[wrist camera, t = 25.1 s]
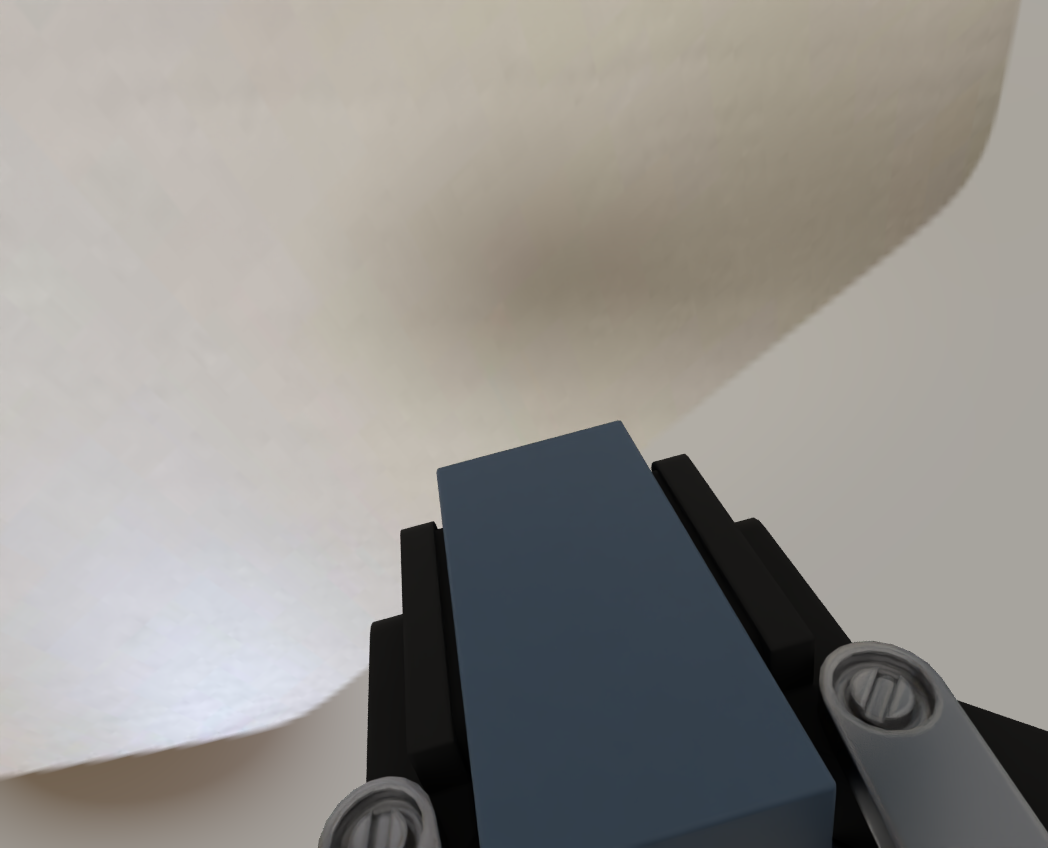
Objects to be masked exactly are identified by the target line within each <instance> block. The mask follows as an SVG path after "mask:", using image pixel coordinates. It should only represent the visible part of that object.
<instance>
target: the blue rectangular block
mask: <svg viewBox="0 0 1048 848" xmlns="http://www.w3.org/2000/svg"><path fill="white" fill-rule="evenodd" d="M437 481H438V490H439V498H440V507H441V516H442V524H443V533H444V542H445V550H446V559H447V568H448V576H449V585H450V593H451V602H452V611H453V619H454V628H455V637H456V645H457V654H458V663H459V671H460V680H461V689H462V697H463V706H464V714H465V723H466V732H467V740H468V749H469V758H470V766H471V775H472V784H473V792H474V801H475V809H476V818H477V827H478V835H479V844H480V848H832V836H833V824H834V812H835V800H836V782H835V781H834V779H833V777H832V776H831V774H830V772H829V770H828V769H827V767H826V765H825V764H824V762H823V760H822V759H821V757H820V755H819V754H818V752H817V750H816V749H815V747H814V745H813V743H812V742H811V740H810V738H809V737H808V735H807V733H806V732H805V730H804V728H803V727H802V725H801V723H800V722H799V720H798V718H797V717H796V715H795V713H794V711H793V710H792V708H791V706H790V705H789V703H788V701H787V700H786V698H785V696H784V695H783V693H782V691H781V690H780V688H779V686H778V684H777V683H776V681H775V679H774V678H773V676H772V674H771V673H770V671H769V669H768V668H767V666H766V664H765V663H764V661H763V659H762V658H761V656H760V654H759V652H758V651H757V649H756V647H755V646H754V644H753V642H752V641H751V639H750V637H749V636H748V634H747V632H746V631H745V629H744V627H743V626H742V624H741V622H740V620H739V619H738V617H737V615H736V614H735V612H734V610H733V609H732V607H731V605H730V604H729V602H728V600H727V599H726V597H725V595H724V593H723V592H722V590H721V588H720V587H719V585H718V583H717V582H716V580H715V578H714V577H713V575H712V573H711V572H710V570H709V568H708V567H707V565H706V563H705V561H704V560H703V558H702V556H701V555H700V553H699V551H698V550H697V548H696V546H695V545H694V543H693V541H692V540H691V538H690V536H689V535H688V533H687V531H686V529H685V528H684V526H683V524H682V523H681V521H680V519H679V518H678V516H677V514H676V513H675V511H674V509H673V508H672V506H671V504H670V502H669V501H668V499H667V497H666V496H665V494H664V492H663V491H662V489H661V487H660V486H659V484H658V482H657V481H656V479H655V477H654V476H653V474H652V472H651V470H650V469H649V467H648V465H647V464H646V462H645V460H644V459H643V457H642V455H641V454H640V452H639V450H638V449H637V447H636V445H635V443H634V442H633V440H632V438H631V437H630V435H629V433H628V432H627V430H626V428H625V427H624V425H623V423H622V422H621V421H614V422H610V423H607V424H603V425H599V426H595V427H592V428H588V429H584V430H580V431H577V432H573V433H569V434H565V435H562V436H558V437H554V438H550V439H547V440H543V441H539V442H535V443H532V444H528V445H524V446H520V447H517V448H513V449H509V450H505V451H502V452H498V453H494V454H490V455H487V456H483V457H479V458H475V459H472V460H468V461H464V462H460V463H457V464H453V465H449V466H445V467H442V468H439V469H437Z"/></svg>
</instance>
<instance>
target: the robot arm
mask: <svg viewBox="0 0 1048 848" xmlns="http://www.w3.org/2000/svg"><path fill="white" fill-rule="evenodd" d="M651 470H652V474H653V476H654V477H655V479H656V481H657V482H658V484H659V486H660V487H661V489H662V491H663V492H664V494H665V496H666V497H667V499H668V501H669V502H670V504H671V506H672V508H673V509H674V511H675V513H676V514H677V516H678V518H679V519H680V521H681V523H682V524H683V526H684V528H685V529H686V531H687V533H688V535H689V536H690V538H691V540H692V541H693V543H694V545H695V546H696V548H697V550H698V551H699V553H700V555H701V556H702V558H703V560H704V561H705V563H706V565H707V567H708V568H709V570H710V572H711V573H712V575H713V577H714V578H715V580H716V582H717V583H718V585H719V587H720V588H721V590H722V592H723V593H724V595H725V597H726V599H727V600H728V602H729V604H730V605H731V607H732V609H733V610H734V612H735V614H736V615H737V617H738V619H739V620H740V622H741V624H742V626H743V627H744V629H745V631H746V632H747V634H748V636H749V637H750V639H751V641H752V642H753V644H754V646H755V647H756V649H757V651H758V652H759V654H760V656H761V658H762V659H763V661H764V663H765V664H766V666H767V668H768V669H769V671H770V673H771V674H772V676H773V678H774V679H775V681H776V683H777V684H778V686H779V688H780V690H781V691H782V693H783V695H784V696H785V698H786V700H787V701H788V703H789V705H790V706H791V708H792V710H793V711H794V713H795V715H796V717H797V718H798V720H799V722H800V723H801V725H802V727H803V728H804V730H805V732H806V733H807V735H808V737H809V738H810V740H811V742H812V743H813V745H814V747H815V749H816V750H817V752H818V754H819V755H820V757H821V759H822V760H823V762H824V764H825V765H826V767H827V769H828V770H829V772H830V774H831V776H832V777H833V779H834V781H835V782H836V800H835V812H834V824H833V836H832V848H1048V731H1045V730H1042V729H1039V728H1037V727H1034V726H1031V725H1028V724H1025V723H1022V722H1019V721H1016V720H1013V719H1010V718H1007V717H1004V716H1001V715H999V714H995V713H993V712H990V711H987V710H984V709H981V708H978V707H975V706H972V705H970V704H967V703H964V702H961V701H958V700H956V698H955V697H954V695H953V694H952V692H951V691H950V689H949V688H948V687H947V685H946V684H945V682H944V681H943V679H942V678H941V677H940V676H939V675H938V673H937V672H936V671H935V670H934V669H933V668H932V667H931V666H930V665H929V664H928V663H927V662H925V661H924V660H922V659H921V658H919V657H918V656H916V655H915V654H914V653H912V652H910V651H907V650H905V649H903V648H900V647H898V646H895V645H892V644H887V643H881V642H876V641H864V642H854V643H852V642H851V641H850V639H849V638H848V637H847V635H846V634H845V633H844V631H843V630H842V629H841V627H840V626H839V625H838V623H837V622H836V621H835V619H834V618H833V617H832V615H831V614H830V613H829V611H828V610H827V609H826V607H825V606H824V605H823V603H822V602H821V601H820V600H819V599H818V597H817V596H816V594H815V593H814V592H813V590H812V589H811V588H810V586H809V585H808V584H807V583H806V581H805V580H804V579H803V577H802V576H801V574H800V573H799V572H798V570H797V569H796V568H795V566H794V565H793V564H792V562H791V561H790V560H789V558H788V557H787V556H786V555H785V553H784V552H783V550H782V549H781V548H780V547H779V545H778V544H777V543H776V541H775V540H774V539H773V537H772V536H771V535H770V533H769V532H768V531H767V530H766V528H765V527H764V526H763V525H762V523H761V522H760V521H759V520H757V519H755V518H750V519H747V520H743V521H739V522H735V523H734V521H733V520H732V518H731V517H730V515H729V514H728V513H727V511H726V510H725V508H724V507H723V506H722V504H721V503H720V501H719V500H718V499H717V497H716V496H715V494H714V493H713V491H712V490H711V488H710V487H709V485H708V484H707V483H706V481H705V480H704V478H703V477H702V476H701V474H700V473H699V471H698V470H697V468H696V467H695V465H694V464H693V463H692V461H691V460H690V459H689V457H688V456H687V455H686V454H681V455H678V456H674V457H670V458H666V459H663V460H659V461H655V462H653V463H652V467H651ZM400 540H401V574H402V607H403V614H401V615H397V616H394V617H390V618H387V619H383V620H379V621H376V622H373V623H372V625H371V630H370V655H369V695H368V697H369V698H368V738H367V777H366V783H365V784H363V785H362V786H360V787H358V788H356V789H355V790H353V791H352V792H351V793H350V794H349V795H347V796H346V797H345V798H344V799H343V800H342V801H341V802H340V803H339V804H338V805H337V807H336V808H335V809H334V811H333V812H332V814H331V815H330V817H329V818H328V820H327V821H326V823H325V826H324V828H323V831H322V833H321V836H320V838H319V843H318V848H480V844H479V835H478V827H477V818H476V809H475V801H474V792H473V784H472V775H471V766H470V758H469V749H468V740H467V732H466V723H465V714H464V706H463V697H462V689H461V680H460V671H459V663H458V654H457V645H456V637H455V628H454V619H453V611H452V602H451V593H450V585H449V576H448V568H447V559H446V550H445V542H444V533H443V528H441V529H437V526H436V524H435V522H434V521H433V522H429V523H425V524H421V525H418V526H414V527H410V528H407V529H403V530H401V533H400Z"/></svg>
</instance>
